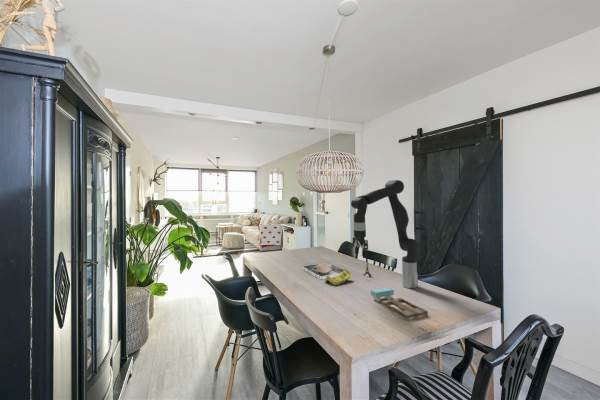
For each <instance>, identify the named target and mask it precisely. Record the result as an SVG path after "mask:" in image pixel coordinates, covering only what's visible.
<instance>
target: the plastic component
mask: <svg viewBox="0 0 600 400" xmlns="http://www.w3.org/2000/svg"><path fill="white" fill-rule="evenodd" d="M351 277H352V273H351V272H350V271H349V270H348V269H347V268H346V269H344V270H342V271H341V272H340V273H339V274H336V275H333V276H331V277H330V275H327V276H326V277H325V278H324V282H326V283H327V282H328V283H329V282H330V284H331V285H333V286H338V285H340V284H344V283H345V282H346V281H347V280H349V279H350V278H351Z"/></svg>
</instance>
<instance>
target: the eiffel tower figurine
mask: <svg viewBox="0 0 600 400" xmlns="http://www.w3.org/2000/svg"><path fill="white" fill-rule="evenodd" d="M368 263H369V262H368V260H366V269H365V272H364V273H365V274H364V273H363V276H365V275H366V274H368V275H369V277H368V278H371V277H374V276H373V275H374V274H372V276H371V273H370V271H369V265H368ZM370 276H371V277H370Z"/></svg>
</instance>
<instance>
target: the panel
mask: <svg viewBox="0 0 600 400" xmlns="http://www.w3.org/2000/svg"><path fill="white" fill-rule="evenodd" d="M394 291H395V290H394V289H392V288H391V287H389V286H388V287H383V288H382V287H381V288H375V289H371V290H370V295H371V296H372V298H373V300H375V302H381V299H382V298H385V299H387V300H392V296H394V295H395V292H394Z"/></svg>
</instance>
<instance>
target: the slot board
mask: <svg viewBox="0 0 600 400" xmlns="http://www.w3.org/2000/svg"><path fill="white" fill-rule="evenodd" d="M380 306H381V307H383V308H384V309H386V310H388V311H390V312H391V313H393V314H395V315H397V316H398V317H400V318H401V319H403V320H405V321H410V320H416V319H419V318H424V317H428V316H429V315H428V310H426V309H424V308H422V307H420V306H418V305H416V304H414V303H412V302H409V301H408V300H406V299H404V298H402V297H399V298H393V299H392V298H391V299H387V300H382V301H380Z"/></svg>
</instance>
